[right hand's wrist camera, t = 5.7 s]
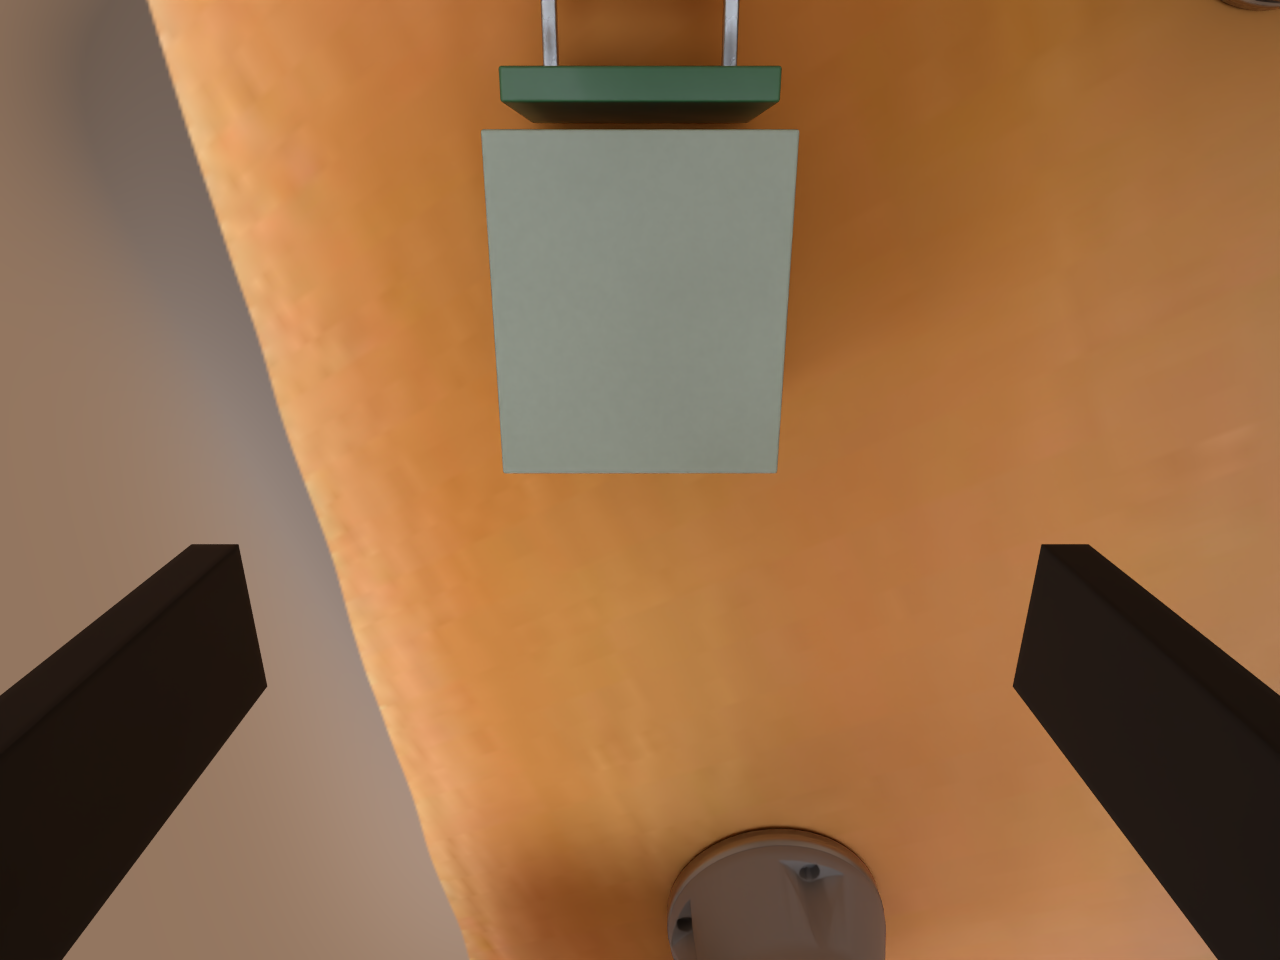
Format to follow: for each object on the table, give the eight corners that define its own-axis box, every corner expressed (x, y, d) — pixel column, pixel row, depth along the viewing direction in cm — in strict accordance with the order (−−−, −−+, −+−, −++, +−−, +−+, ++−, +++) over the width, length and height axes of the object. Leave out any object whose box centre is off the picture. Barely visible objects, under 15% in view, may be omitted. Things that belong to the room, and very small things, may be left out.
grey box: (523, 146, 38) (480, 129, 28) (756, 146, 38) (800, 129, 28) (536, 406, 43) (502, 473, 32) (744, 406, 43) (777, 473, 32)
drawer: (523, -56, 34) (486, -137, 26) (756, -56, 34) (793, -136, 26) (541, 345, 41) (516, 385, 32) (738, 345, 41) (763, 384, 32)
